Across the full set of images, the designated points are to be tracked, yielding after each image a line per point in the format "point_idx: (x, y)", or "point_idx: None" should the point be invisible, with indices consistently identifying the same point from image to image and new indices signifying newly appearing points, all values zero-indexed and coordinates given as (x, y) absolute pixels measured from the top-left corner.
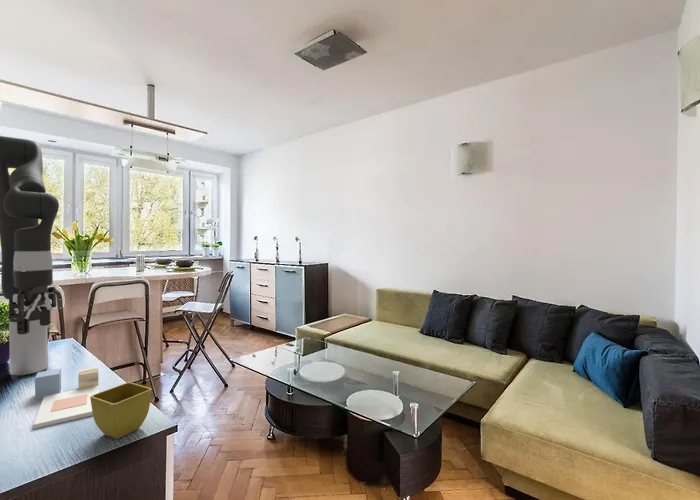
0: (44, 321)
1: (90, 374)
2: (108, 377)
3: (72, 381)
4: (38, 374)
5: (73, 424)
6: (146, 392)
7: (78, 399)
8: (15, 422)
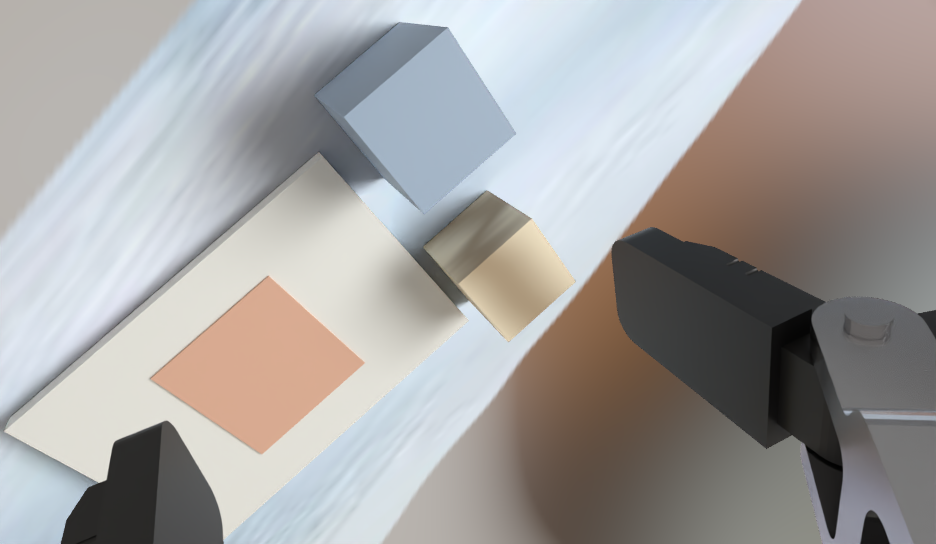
0: (652, 310)
1: (485, 316)
2: (594, 235)
3: (556, 83)
4: (409, 75)
5: None
6: None
7: (300, 379)
8: (43, 263)
